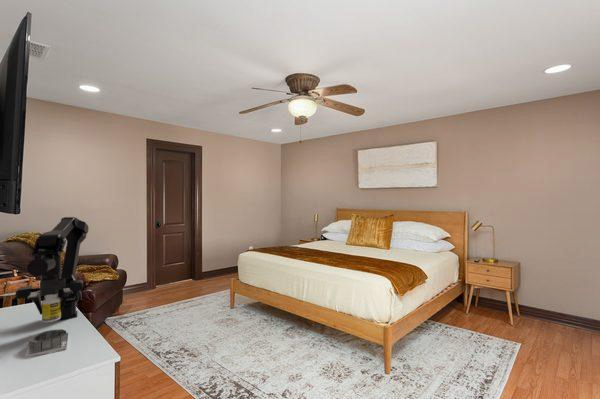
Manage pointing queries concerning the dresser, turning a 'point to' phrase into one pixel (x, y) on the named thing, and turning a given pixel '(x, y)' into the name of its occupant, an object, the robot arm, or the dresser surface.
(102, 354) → the dresser surface
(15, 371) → the dresser surface
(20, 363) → the dresser surface
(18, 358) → the dresser surface
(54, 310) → the supplement bottle
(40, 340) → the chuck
